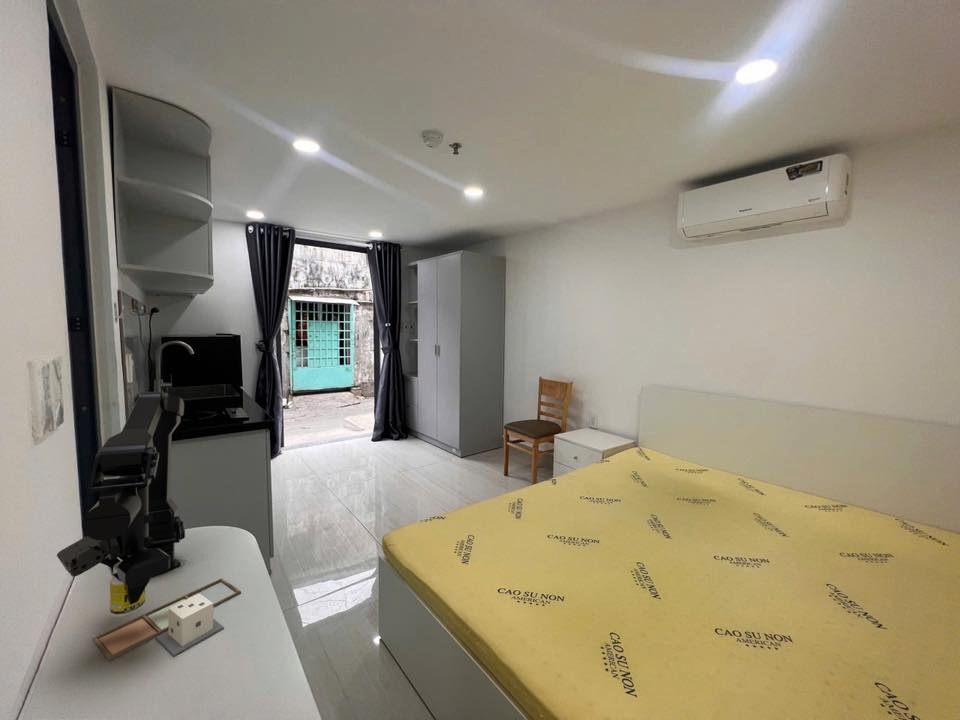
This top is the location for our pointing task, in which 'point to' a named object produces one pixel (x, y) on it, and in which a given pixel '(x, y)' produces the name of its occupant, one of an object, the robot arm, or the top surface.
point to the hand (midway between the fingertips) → (128, 597)
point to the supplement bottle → (122, 598)
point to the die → (190, 619)
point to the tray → (145, 626)
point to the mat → (176, 648)
